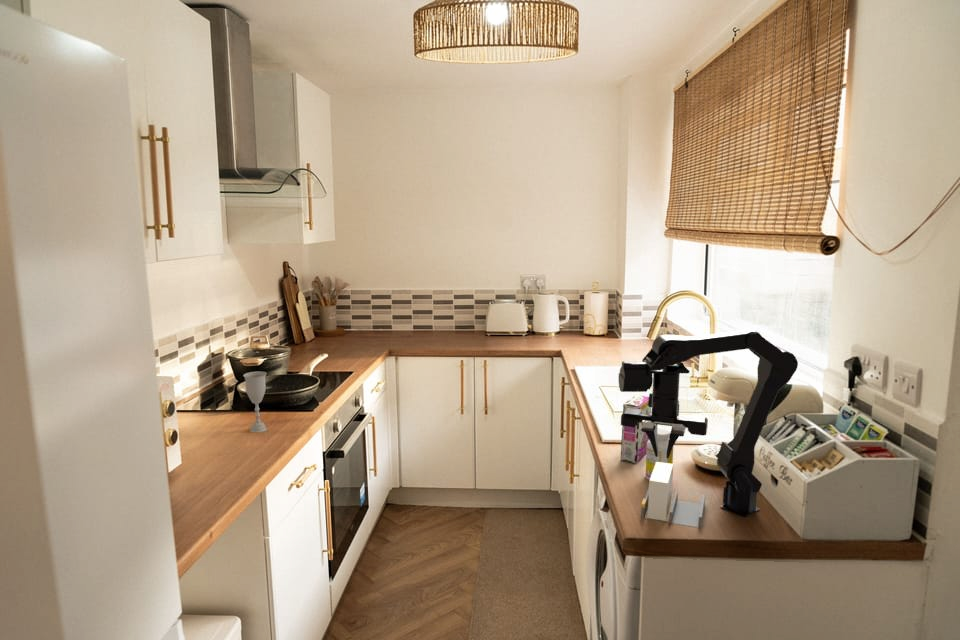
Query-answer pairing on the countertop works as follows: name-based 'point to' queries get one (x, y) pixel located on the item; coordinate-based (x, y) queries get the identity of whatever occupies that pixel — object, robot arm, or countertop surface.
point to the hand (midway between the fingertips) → (662, 457)
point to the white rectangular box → (660, 491)
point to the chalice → (256, 395)
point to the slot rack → (679, 511)
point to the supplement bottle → (662, 452)
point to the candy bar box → (635, 432)
